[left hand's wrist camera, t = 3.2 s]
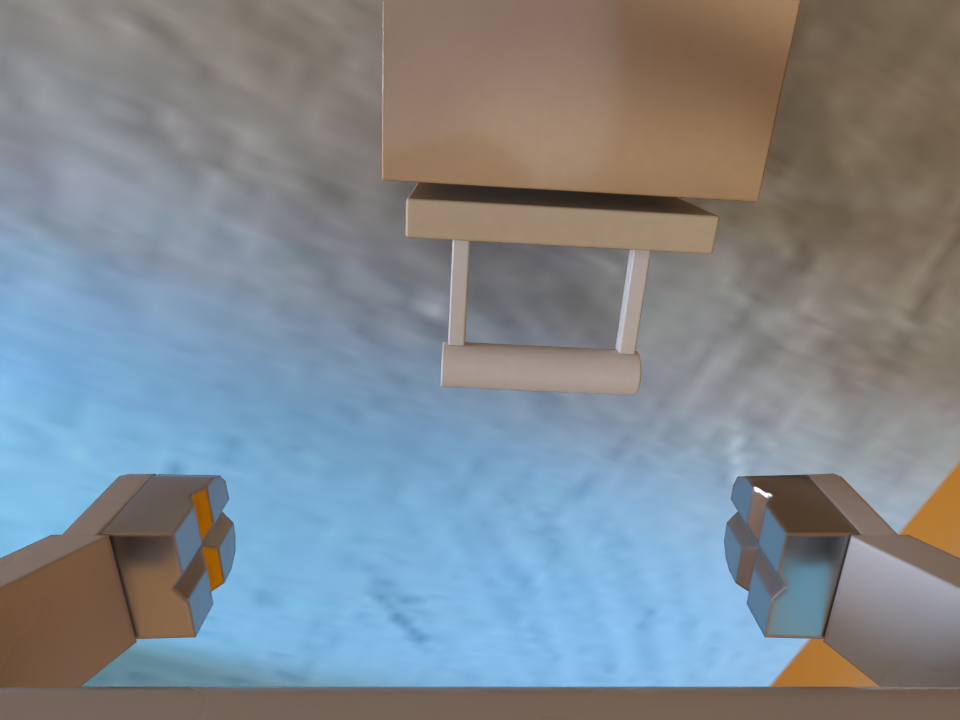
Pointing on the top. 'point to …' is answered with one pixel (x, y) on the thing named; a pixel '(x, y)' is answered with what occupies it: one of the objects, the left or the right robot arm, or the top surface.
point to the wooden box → (584, 93)
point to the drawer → (560, 224)
